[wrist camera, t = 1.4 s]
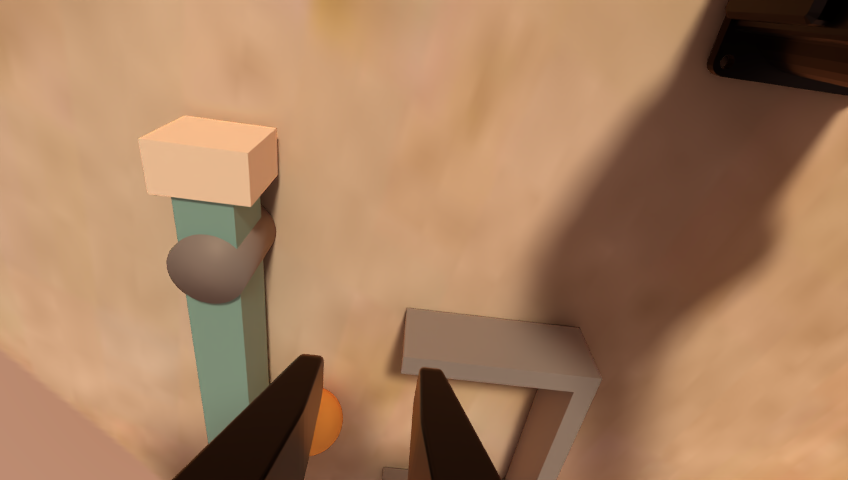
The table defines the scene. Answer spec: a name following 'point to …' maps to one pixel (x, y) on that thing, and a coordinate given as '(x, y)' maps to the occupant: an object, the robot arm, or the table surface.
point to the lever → (219, 249)
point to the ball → (327, 423)
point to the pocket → (511, 377)
